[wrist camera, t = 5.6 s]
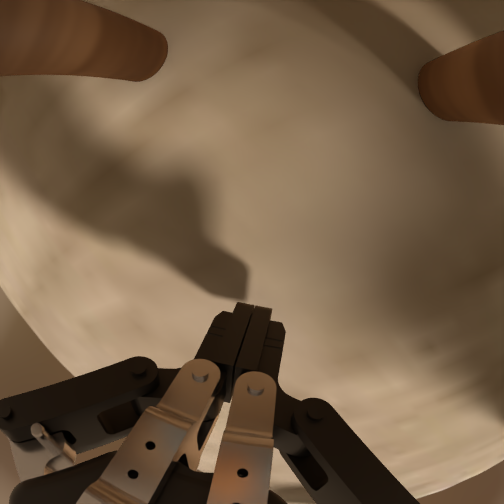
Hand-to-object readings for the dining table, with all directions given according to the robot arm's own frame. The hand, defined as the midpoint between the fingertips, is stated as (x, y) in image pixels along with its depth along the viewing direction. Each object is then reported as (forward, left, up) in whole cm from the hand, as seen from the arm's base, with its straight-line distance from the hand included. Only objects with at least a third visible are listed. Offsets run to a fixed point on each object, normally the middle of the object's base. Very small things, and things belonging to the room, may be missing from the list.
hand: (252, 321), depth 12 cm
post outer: (+6, -11, -2) cm, 13 cm away
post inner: (-6, -11, -2) cm, 13 cm away
